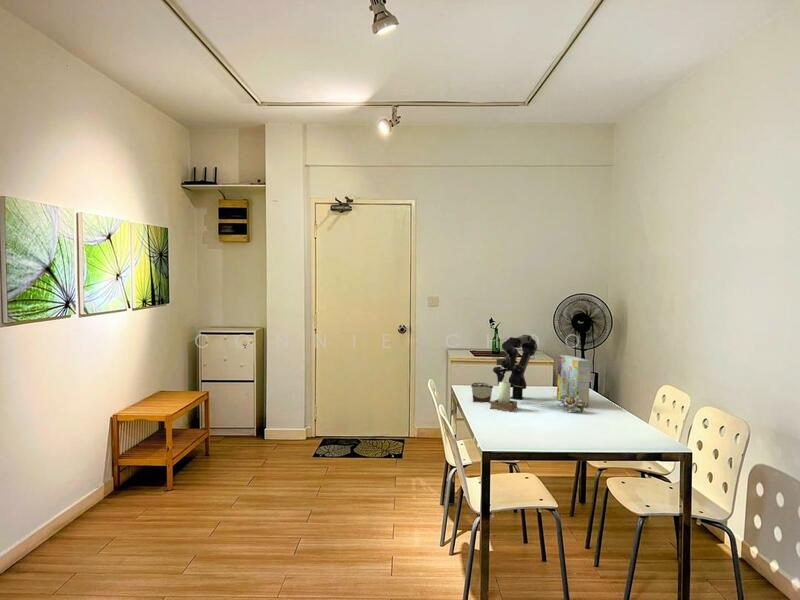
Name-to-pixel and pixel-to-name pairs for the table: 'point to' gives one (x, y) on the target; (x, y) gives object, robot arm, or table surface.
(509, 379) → the robot arm
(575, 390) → the snack box
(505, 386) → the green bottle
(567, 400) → the passion flower
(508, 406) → the holder
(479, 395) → the food container
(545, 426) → the table surface
